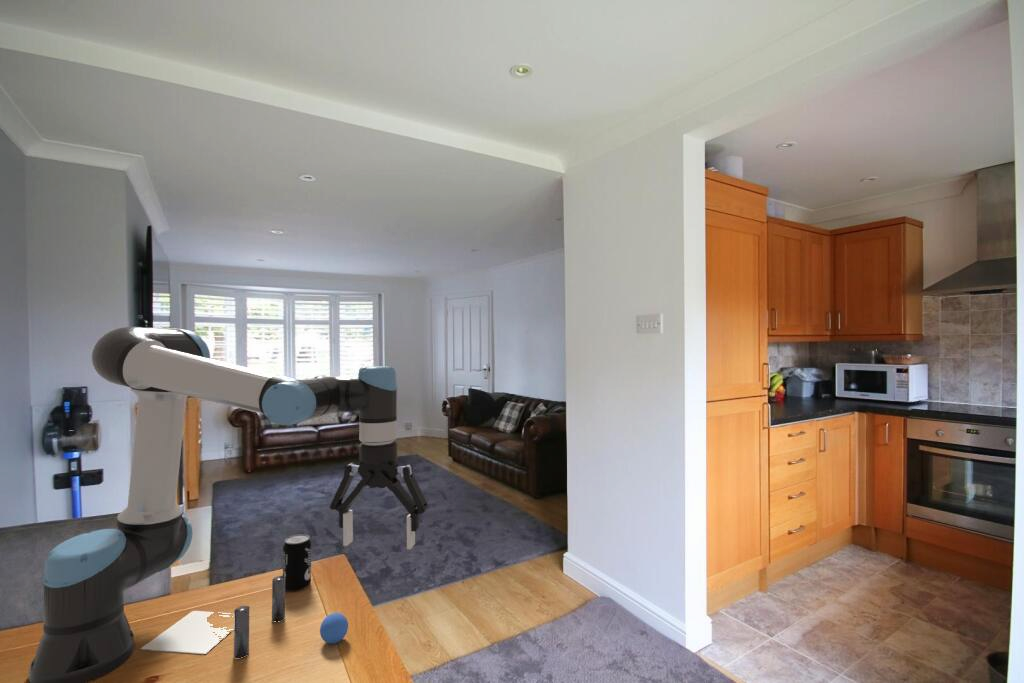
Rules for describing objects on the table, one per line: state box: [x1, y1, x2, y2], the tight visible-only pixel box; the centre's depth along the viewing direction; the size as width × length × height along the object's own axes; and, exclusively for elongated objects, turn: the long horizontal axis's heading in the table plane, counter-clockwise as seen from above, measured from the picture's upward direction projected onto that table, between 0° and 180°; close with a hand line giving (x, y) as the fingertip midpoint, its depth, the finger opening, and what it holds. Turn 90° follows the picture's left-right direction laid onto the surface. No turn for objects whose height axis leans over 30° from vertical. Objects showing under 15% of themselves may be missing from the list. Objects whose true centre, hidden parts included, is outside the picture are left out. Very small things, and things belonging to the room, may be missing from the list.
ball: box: [319, 612, 349, 644], centre depth 101 cm, size 6×6×6 cm
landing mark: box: [140, 610, 234, 655], centre depth 104 cm, size 14×14×1 cm
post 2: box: [271, 575, 286, 623], centre depth 109 cm, size 3×3×9 cm
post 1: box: [233, 605, 250, 659], centre depth 96 cm, size 3×3×9 cm
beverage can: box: [282, 533, 312, 592], centre depth 124 cm, size 7×7×12 cm
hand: (379, 545), depth 100 cm, fingers open, 13 cm apart
